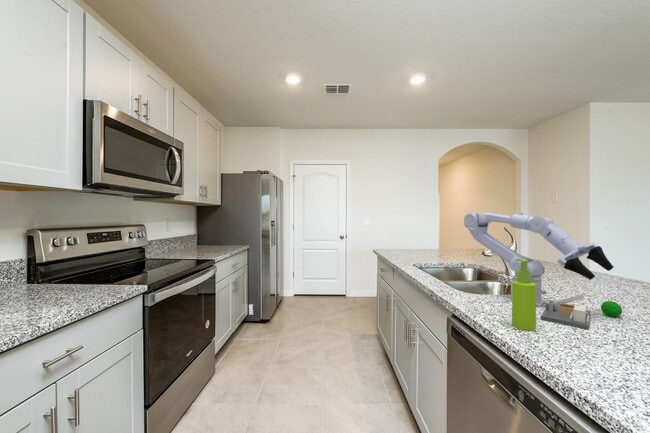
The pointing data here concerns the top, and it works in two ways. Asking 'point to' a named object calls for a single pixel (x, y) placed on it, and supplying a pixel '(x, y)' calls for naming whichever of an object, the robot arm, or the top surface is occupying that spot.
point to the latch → (580, 314)
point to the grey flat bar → (567, 300)
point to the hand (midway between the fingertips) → (602, 273)
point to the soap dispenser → (524, 299)
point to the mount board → (563, 315)
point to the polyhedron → (611, 309)
